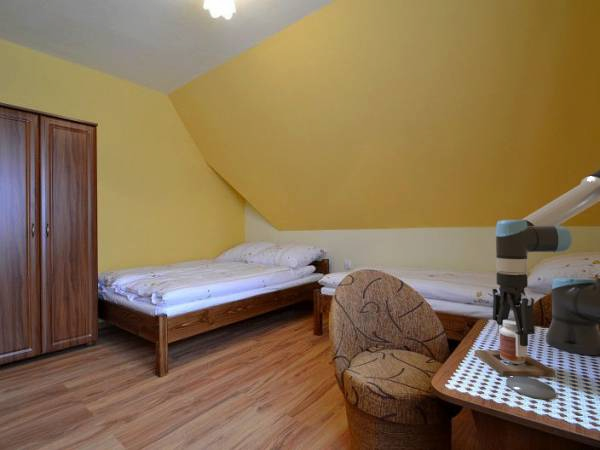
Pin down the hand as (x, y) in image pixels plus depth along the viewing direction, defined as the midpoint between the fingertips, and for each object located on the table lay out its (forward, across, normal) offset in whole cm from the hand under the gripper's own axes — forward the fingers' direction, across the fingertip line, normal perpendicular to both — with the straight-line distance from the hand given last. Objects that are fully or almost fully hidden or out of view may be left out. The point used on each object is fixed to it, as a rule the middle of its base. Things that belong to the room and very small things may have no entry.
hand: (512, 351), depth 91 cm
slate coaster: (+4, -13, +5) cm, 14 cm away
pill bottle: (+3, 0, 0) cm, 3 cm away
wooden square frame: (+4, 0, 0) cm, 4 cm away
